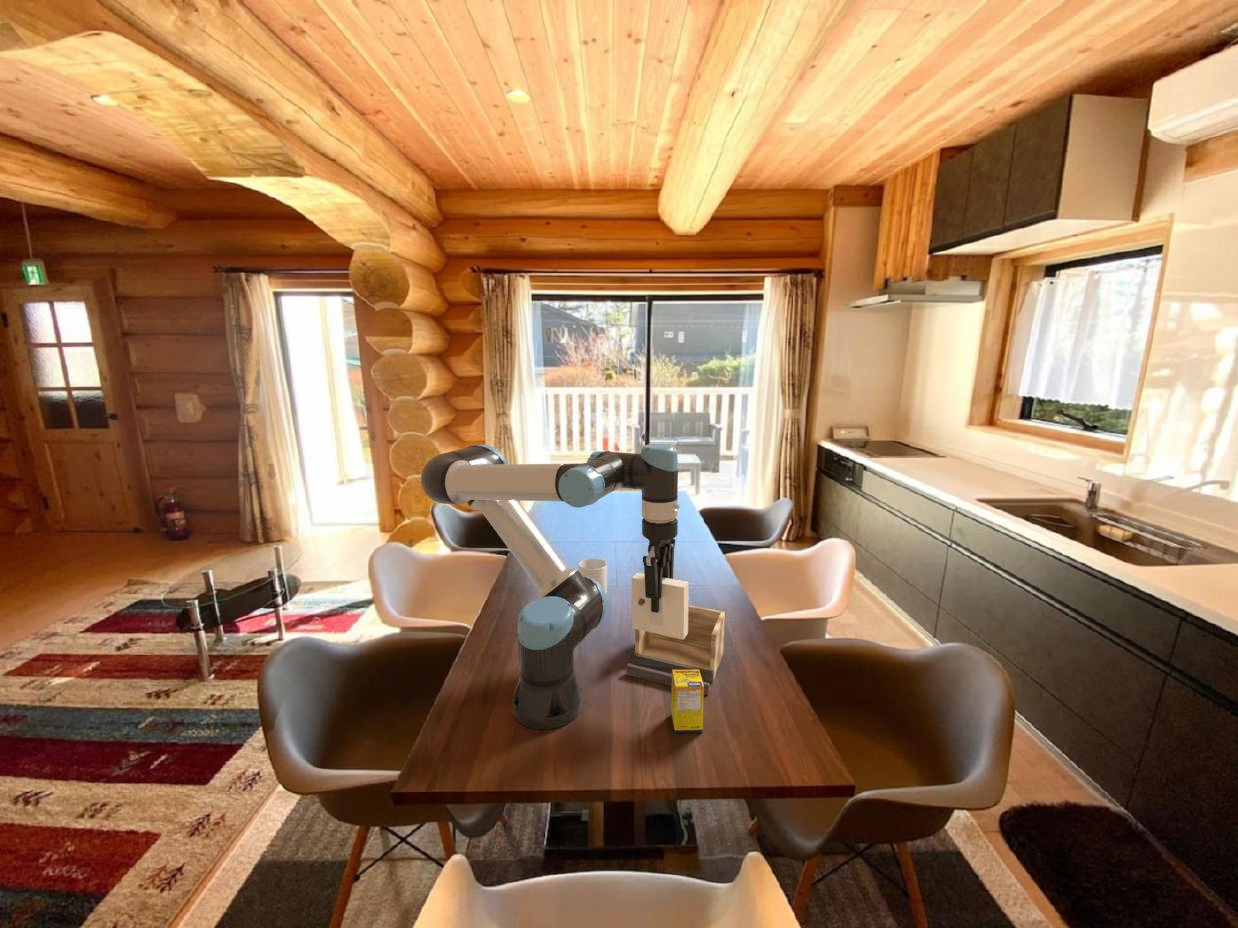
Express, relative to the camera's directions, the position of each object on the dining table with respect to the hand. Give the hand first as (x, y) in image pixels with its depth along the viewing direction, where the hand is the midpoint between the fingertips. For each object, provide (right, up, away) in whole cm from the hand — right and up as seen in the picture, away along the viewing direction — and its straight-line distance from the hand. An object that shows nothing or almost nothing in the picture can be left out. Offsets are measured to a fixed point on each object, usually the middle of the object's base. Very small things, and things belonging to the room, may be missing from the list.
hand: (659, 619), depth 114 cm
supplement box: (+5, -21, -5) cm, 22 cm away
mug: (-17, -8, +53) cm, 57 cm away
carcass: (+6, -16, +17) cm, 24 cm away
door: (0, -2, 0) cm, 3 cm away
